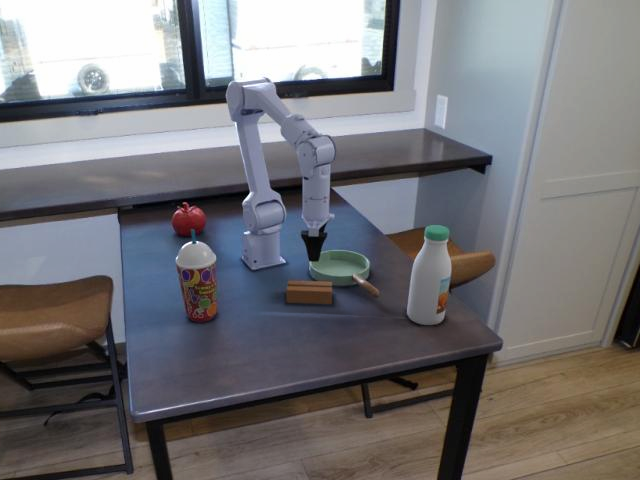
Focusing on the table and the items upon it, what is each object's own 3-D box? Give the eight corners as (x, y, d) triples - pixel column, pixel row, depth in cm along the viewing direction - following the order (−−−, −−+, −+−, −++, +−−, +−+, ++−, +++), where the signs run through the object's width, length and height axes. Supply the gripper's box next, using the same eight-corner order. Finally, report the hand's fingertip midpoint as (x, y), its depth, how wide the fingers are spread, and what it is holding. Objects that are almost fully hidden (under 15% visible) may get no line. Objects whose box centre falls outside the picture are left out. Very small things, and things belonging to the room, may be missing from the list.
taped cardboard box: (286, 304, 116) (286, 289, 115) (288, 294, 120) (288, 280, 119) (331, 305, 115) (331, 291, 113) (331, 295, 119) (332, 281, 117)
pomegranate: (213, 233, 153) (210, 203, 148) (182, 241, 148) (178, 211, 144) (197, 223, 160) (194, 194, 156) (167, 231, 155) (163, 201, 151)
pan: (326, 292, 120) (327, 281, 119) (299, 267, 132) (299, 256, 131) (380, 279, 125) (381, 268, 124) (349, 256, 137) (350, 245, 135)
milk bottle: (423, 330, 106) (436, 239, 96) (398, 313, 112) (408, 226, 102) (452, 320, 109) (467, 231, 99) (426, 303, 115) (438, 218, 105)
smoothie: (205, 329, 108) (195, 241, 98) (175, 319, 112) (162, 233, 102) (229, 311, 114) (222, 226, 104) (199, 302, 118) (190, 219, 108)
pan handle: (350, 280, 122) (350, 273, 121) (357, 278, 123) (357, 271, 122) (374, 299, 114) (374, 292, 113) (381, 297, 114) (381, 290, 114)
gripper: (333, 207, 104) (331, 268, 110) (335, 185, 116) (333, 240, 123) (298, 207, 105) (298, 267, 111) (304, 184, 117) (304, 240, 124)
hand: (315, 253), depth 117 cm, fingers open, 7 cm apart
